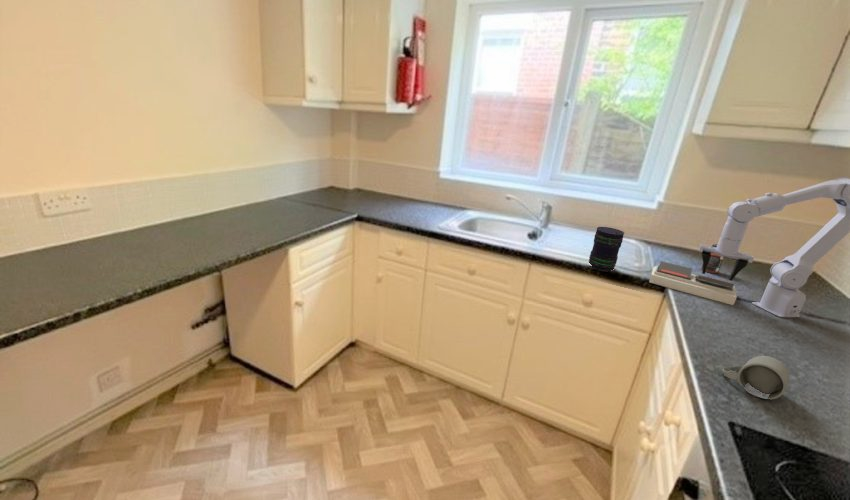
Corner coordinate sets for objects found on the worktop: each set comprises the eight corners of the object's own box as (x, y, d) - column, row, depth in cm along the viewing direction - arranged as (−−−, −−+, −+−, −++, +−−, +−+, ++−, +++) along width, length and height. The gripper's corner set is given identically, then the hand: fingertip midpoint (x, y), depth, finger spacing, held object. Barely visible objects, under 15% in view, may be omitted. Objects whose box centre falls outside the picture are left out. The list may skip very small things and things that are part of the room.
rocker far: (691, 271, 139) (692, 268, 139) (689, 281, 134) (690, 278, 134) (659, 263, 144) (660, 260, 144) (656, 273, 140) (657, 270, 139)
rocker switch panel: (731, 293, 136) (735, 283, 135) (733, 305, 126) (737, 294, 125) (652, 273, 149) (655, 263, 147) (648, 282, 139) (652, 272, 138)
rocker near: (729, 286, 133) (730, 282, 133) (732, 287, 127) (734, 283, 127) (695, 277, 139) (697, 274, 138) (697, 278, 133) (698, 275, 132)
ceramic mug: (783, 391, 84) (796, 362, 82) (777, 407, 79) (791, 376, 76) (725, 367, 92) (736, 339, 89) (716, 380, 86) (727, 351, 84)
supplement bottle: (721, 275, 154) (731, 248, 150) (705, 272, 155) (714, 246, 151) (713, 269, 160) (723, 244, 156) (698, 267, 160) (707, 242, 157)
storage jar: (582, 262, 153) (590, 226, 148) (601, 261, 157) (610, 226, 152) (600, 272, 145) (610, 234, 140) (620, 270, 148) (630, 234, 143)
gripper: (757, 241, 125) (742, 279, 130) (704, 230, 132) (691, 267, 137) (760, 246, 119) (744, 285, 124) (704, 234, 127) (691, 272, 131)
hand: (716, 276), depth 130 cm, fingers open, 7 cm apart
